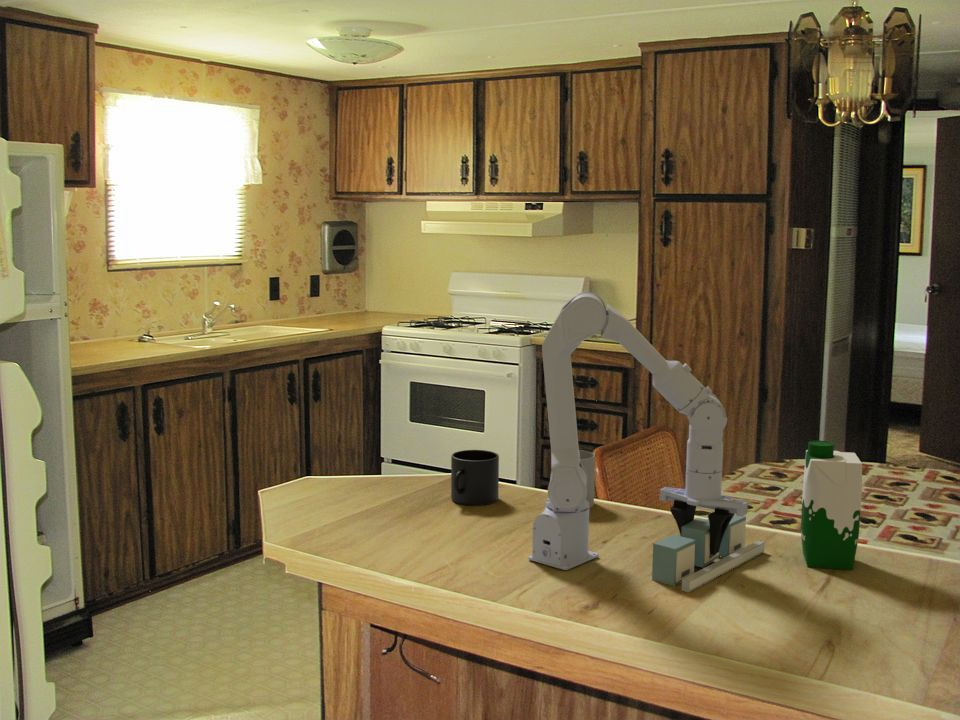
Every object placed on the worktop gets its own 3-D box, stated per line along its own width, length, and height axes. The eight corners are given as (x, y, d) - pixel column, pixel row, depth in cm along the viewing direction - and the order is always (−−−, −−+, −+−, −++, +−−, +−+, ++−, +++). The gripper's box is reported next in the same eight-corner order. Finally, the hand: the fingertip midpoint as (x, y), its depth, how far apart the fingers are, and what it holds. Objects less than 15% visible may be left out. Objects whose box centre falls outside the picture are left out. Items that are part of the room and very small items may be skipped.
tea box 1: (675, 586, 159) (676, 549, 158) (651, 580, 162) (653, 543, 161) (695, 576, 164) (696, 540, 163) (672, 570, 167) (673, 534, 166)
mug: (434, 504, 202) (434, 459, 201) (468, 490, 212) (468, 447, 211) (474, 512, 197) (475, 466, 196) (507, 497, 207) (507, 453, 206)
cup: (595, 510, 199) (596, 460, 197) (552, 510, 199) (553, 459, 197) (591, 498, 207) (592, 449, 206) (550, 497, 207) (551, 449, 206)
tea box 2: (704, 567, 166) (706, 531, 165) (680, 562, 168) (681, 526, 167) (719, 557, 170) (721, 522, 169) (696, 552, 173) (697, 517, 172)
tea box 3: (728, 559, 172) (730, 524, 171) (706, 553, 175) (707, 519, 174) (745, 550, 176) (747, 516, 176) (723, 545, 179) (724, 511, 178)
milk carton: (796, 551, 176) (803, 436, 173) (852, 555, 174) (859, 439, 171) (801, 568, 168) (808, 448, 165) (860, 572, 166) (868, 451, 163)
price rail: (689, 592, 157) (689, 581, 156) (681, 590, 158) (681, 579, 157) (764, 552, 175) (765, 542, 175) (757, 550, 176) (757, 540, 176)
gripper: (652, 467, 168) (649, 547, 170) (736, 481, 159) (732, 565, 161) (671, 458, 174) (668, 536, 176) (754, 472, 165) (750, 554, 167)
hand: (700, 549), depth 169 cm, fingers closed on tea box 2, 4 cm apart
